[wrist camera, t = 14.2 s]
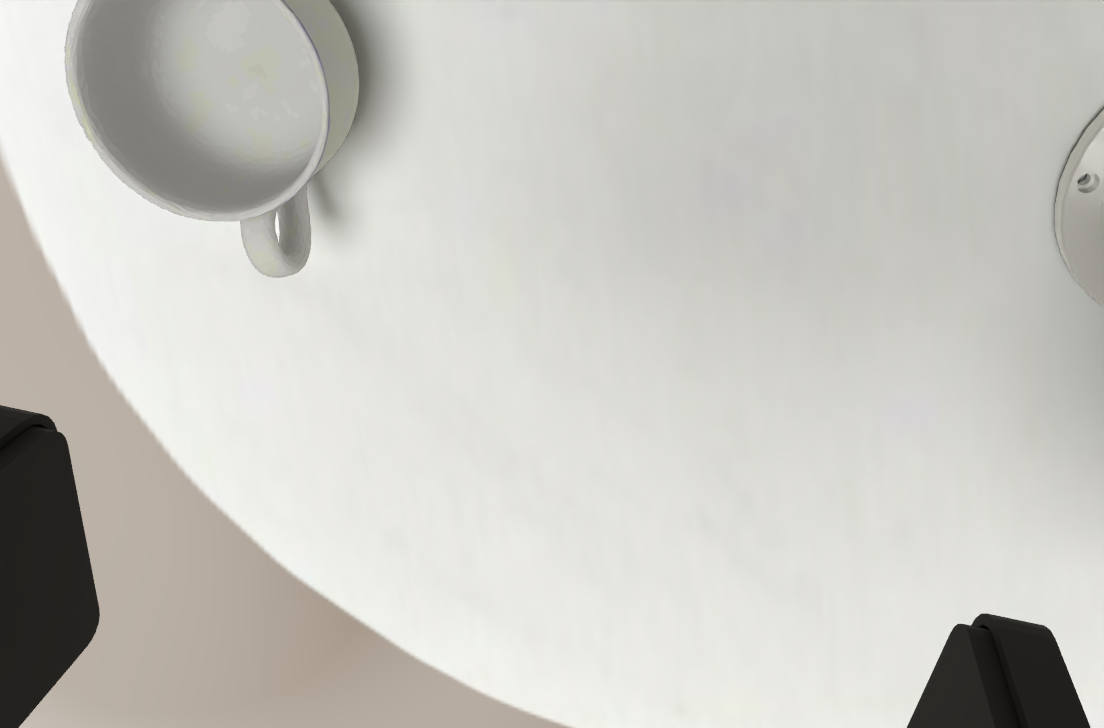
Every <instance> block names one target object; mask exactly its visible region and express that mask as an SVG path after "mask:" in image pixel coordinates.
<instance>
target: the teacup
mask: <svg viewBox="0 0 1104 728" xmlns="http://www.w3.org/2000/svg"><path fill="white" fill-rule="evenodd" d="M65 70H66V81H67V86H68V91H69V95H70V98H71V100H72V104H73V108H74V111H75V113H76V116H77V119H78V121H79V123H80V125H81V126H82V128H83V130H84V132H85V135H86V137H87V138H88V140H89V141H90V142H91V143H92V145H93V147H94V148H95V150H96V151H97V153H98V154H99V156H100V158H101V159H102V160H103V161H104V162H105V163H106V164H107V166H108V167H109V168H110V169H111V170H112V172H113V173H114V174H115V175H116V176H117V177H118V178H119V179H120V180H121V181H122V182H123V183H125V184H126V185H127V186H129V187H130V188H131V189H133V190H134V191H135V192H137V193H138V194H139V195H141V196H142V197H143V198H145V199H147V200H148V201H150V202H152V203H153V204H155V205H157V206H159V207H161V208H163V209H166V210H168V211H171V212H173V213H175V214H178V215H181V216H185V217H189V218H194V219H200V220H207V221H240V224H241V235H242V240H243V245H244V248H245V250H246V253H247V256H248V258H249V259H250V261H251V263H252V264H253V266H254V267H255V268H256V269H257V270H258V271H259V272H260V273H262V274H263V275H266V276H268V277H274V278H280V277H286V276H289V275H293V274H295V273H297V272H299V271H300V270H301V269H302V268H303V267H304V266H305V264H306V262H307V259H308V257H309V253H310V246H311V227H310V217H309V209H308V202H307V195H306V189H307V183H308V182H309V180H310V179H311V178H312V177H313V176H314V175H315V174H316V173H317V172H318V171H320V170H321V169H322V168H323V167H324V166H325V165H326V164H327V163H328V162H329V160H330V159H331V158H332V157H333V156H334V155H335V154H336V152H337V151H338V149H339V148H340V147H341V145H342V144H343V142H344V141H345V139H346V137H347V135H348V133H349V131H350V128H351V125H352V123H353V120H354V117H355V114H356V109H357V104H358V96H359V74H358V64H357V59H356V55H355V51H354V47H353V44H352V41H351V38H350V36H349V34H348V31H347V29H346V27H345V25H344V23H343V21H342V19H341V17H340V16H339V14H338V13H337V11H336V10H335V8H334V7H333V5H332V4H331V2H330V1H329V0H78V1H77V3H76V6H75V9H74V11H73V12H72V17H71V20H70V23H69V26H68V31H67V37H66V43H65ZM276 212H277V213H278V219H279V231H280V236H279V243H278V239H277V236H276V232H275V217H276Z"/></svg>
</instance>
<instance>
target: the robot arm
mask: <svg viewBox="0 0 1104 728" xmlns="http://www.w3.org/2000/svg"><path fill="white" fill-rule="evenodd" d="M1085 174H1087V177H1086V179H1085V180H1083V181H1082V182H1078V180H1079V179H1080V177H1081V176H1083V175H1085ZM1055 234H1056V237H1057V241H1058V245H1059V249H1060V252H1061V256H1062V258H1063V259H1064V261H1065V263H1066V265H1067V267H1068V268H1069V270H1070V272H1071V274H1072V276H1073V277H1074V278H1075V279H1076V280H1077V281H1078V283H1079V284H1080V285H1081V286H1082V288H1083V289H1084V290H1085V291H1086V292H1087V293H1088V294H1089V295H1090V296H1091V297H1092V298H1093V299H1094V300H1095V301H1097V302H1098V303H1099V304H1100V305H1101V306H1103V307H1104V109H1103V110H1102V112H1101V113H1100V114H1099V115H1098V116H1097V117H1096V118H1095V120H1094V121H1093V122H1092V123H1091V124H1090V125H1089V126H1088V127H1087V129H1086V130H1085V132H1084V134H1083V135H1082V137H1081V138H1080V140H1079V142H1078V143H1077V145H1076V146H1075V148H1074V150H1073V151H1072V153H1071V154H1070V157H1069V159H1068V162H1067V164H1066V167H1065V169H1064V172H1063V174H1062V177H1061V179H1060V182H1059V187H1058V192H1057V197H1056V203H1055ZM99 616H100V615H99V606H98V600H97V595H96V590H95V584H94V580H93V574H92V569H91V564H90V558H89V554H88V548H87V542H86V538H85V533H84V527H83V522H82V516H81V511H80V506H79V501H78V495H77V490H76V485H75V480H74V475H73V469H72V464H71V459H70V454H69V448H68V444H67V441H66V438H65V437H64V435H63V434H62V433H60V432H57V429H56V427H55V424H54V422H53V421H52V420H51V419H50V418H49V417H48V416H45V415H43V414H39V413H34V412H29V411H25V410H20V409H15V408H10V407H6V406H1V405H0V728H19V726H20V725H21V724H22V723H23V722H24V720H25V719H26V718H27V717H28V716H29V714H30V713H31V712H32V711H33V710H34V709H35V707H36V706H37V705H38V704H39V703H40V701H41V700H42V699H43V698H44V697H45V696H46V694H47V693H48V692H49V691H50V690H51V688H52V687H53V686H54V685H55V684H56V683H57V681H58V680H59V679H60V678H61V677H62V675H63V674H64V673H65V672H66V670H68V668H69V667H70V666H71V665H72V664H73V662H74V661H75V660H76V659H77V658H78V656H79V655H80V654H81V653H82V652H83V651H84V649H85V648H86V647H87V646H88V644H89V643H90V641H91V640H92V638H93V636H94V634H95V632H96V629H97V626H98V623H99ZM907 728H1090V725H1089V723H1088V720H1087V718H1086V715H1085V712H1084V710H1083V707H1082V705H1081V702H1080V700H1079V697H1078V695H1077V692H1076V690H1075V687H1074V685H1073V682H1072V680H1071V677H1070V675H1069V672H1068V670H1067V667H1066V665H1065V662H1064V660H1063V657H1062V655H1061V652H1060V649H1059V647H1058V644H1057V642H1056V639H1055V638H1054V636H1053V634H1052V632H1051V630H1049V629H1048V628H1047V627H1045V626H1043V625H1038V624H1034V623H1029V622H1024V621H1019V620H1015V619H1010V618H1005V617H1001V616H996V615H991V614H980V615H979V616H978V617H977V618H976V619H975V620H974V622H973V623H972V625H971V626H969V625H965V624H957V625H956V626H955V627H954V628H953V630H952V632H951V633H950V635H949V638H948V640H947V642H946V644H945V646H944V648H943V651H942V653H941V655H940V657H939V659H938V661H937V663H936V666H935V668H934V670H933V672H932V674H931V676H930V679H929V681H928V683H927V685H926V687H925V689H924V692H923V694H922V696H921V698H920V700H919V702H918V705H917V707H916V709H915V711H914V713H913V715H912V718H911V720H910V722H909V724H908V726H907Z"/></svg>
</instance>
